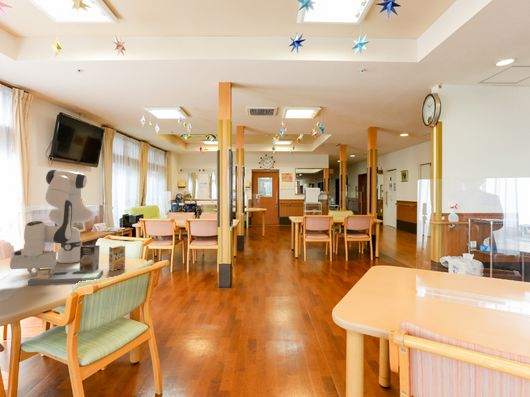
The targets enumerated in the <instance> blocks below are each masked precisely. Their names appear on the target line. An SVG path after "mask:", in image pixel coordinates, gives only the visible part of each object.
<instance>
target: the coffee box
mask: <svg viewBox="0 0 530 397" xmlns="http://www.w3.org/2000/svg"><path fill="white" fill-rule="evenodd" d="M99 267H100V245H95V244H85V245H81V247H80V261H79V271H86V270H98V269H99ZM99 270H100V269H99Z"/></svg>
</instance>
